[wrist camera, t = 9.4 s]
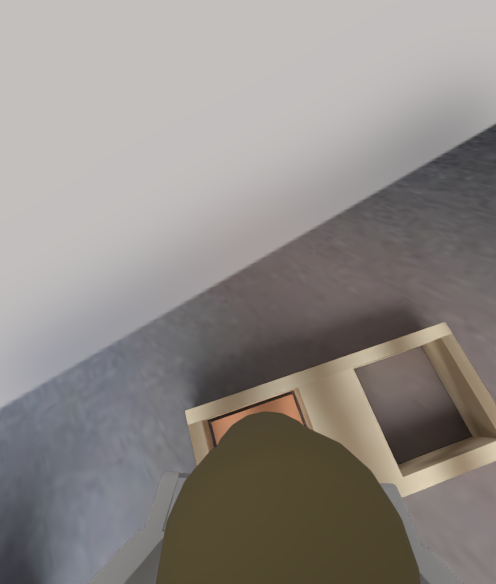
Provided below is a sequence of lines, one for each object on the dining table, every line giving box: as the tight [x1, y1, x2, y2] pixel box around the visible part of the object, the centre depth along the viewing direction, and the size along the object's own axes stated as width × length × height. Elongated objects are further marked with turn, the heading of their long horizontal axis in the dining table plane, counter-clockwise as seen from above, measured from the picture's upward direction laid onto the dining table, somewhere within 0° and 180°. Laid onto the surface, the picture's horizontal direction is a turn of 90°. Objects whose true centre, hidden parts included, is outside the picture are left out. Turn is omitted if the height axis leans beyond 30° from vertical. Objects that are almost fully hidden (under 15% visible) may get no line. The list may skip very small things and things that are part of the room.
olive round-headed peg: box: [156, 411, 420, 584], centre depth 10 cm, size 6×6×11 cm
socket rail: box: [185, 322, 496, 497], centre depth 22 cm, size 22×10×3 cm, turn 108°
